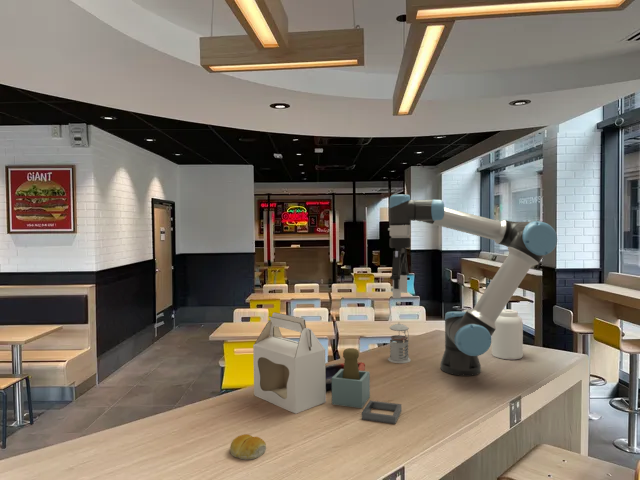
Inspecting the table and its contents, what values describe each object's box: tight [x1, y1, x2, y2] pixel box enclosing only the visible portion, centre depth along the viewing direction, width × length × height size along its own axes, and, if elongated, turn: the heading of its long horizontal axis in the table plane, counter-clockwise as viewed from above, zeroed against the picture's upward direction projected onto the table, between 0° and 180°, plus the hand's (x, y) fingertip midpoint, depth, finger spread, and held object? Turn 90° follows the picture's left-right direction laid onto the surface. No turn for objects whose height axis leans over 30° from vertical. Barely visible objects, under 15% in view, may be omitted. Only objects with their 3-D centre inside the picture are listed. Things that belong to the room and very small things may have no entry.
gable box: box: [252, 312, 327, 415], centre depth 151 cm, size 22×13×28 cm, turn 44°
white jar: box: [491, 308, 524, 360], centre depth 197 cm, size 12×12×20 cm
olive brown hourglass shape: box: [342, 347, 360, 380], centre depth 149 cm, size 6×6×11 cm
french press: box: [387, 301, 412, 364], centre depth 194 cm, size 10×12×25 cm
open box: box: [331, 369, 371, 409], centre depth 149 cm, size 10×10×8 cm
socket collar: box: [361, 400, 403, 425], centre depth 137 cm, size 10×10×2 cm
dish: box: [325, 361, 366, 391], centre depth 167 cm, size 16×31×5 cm, turn 126°
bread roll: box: [229, 433, 267, 461], centre depth 116 cm, size 8×9×4 cm
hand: (400, 295), depth 166 cm, fingers open, 13 cm apart
